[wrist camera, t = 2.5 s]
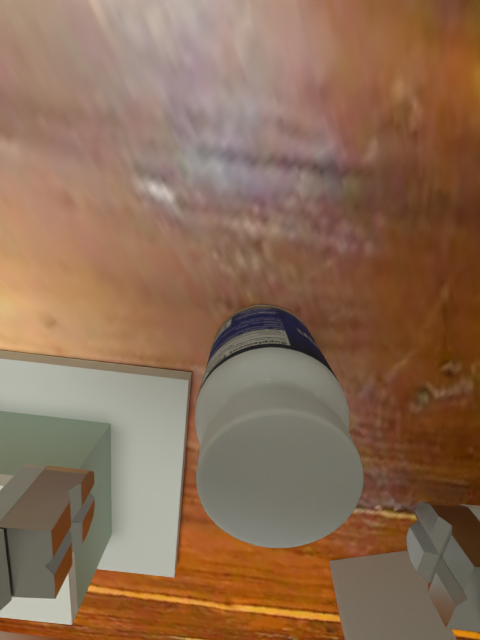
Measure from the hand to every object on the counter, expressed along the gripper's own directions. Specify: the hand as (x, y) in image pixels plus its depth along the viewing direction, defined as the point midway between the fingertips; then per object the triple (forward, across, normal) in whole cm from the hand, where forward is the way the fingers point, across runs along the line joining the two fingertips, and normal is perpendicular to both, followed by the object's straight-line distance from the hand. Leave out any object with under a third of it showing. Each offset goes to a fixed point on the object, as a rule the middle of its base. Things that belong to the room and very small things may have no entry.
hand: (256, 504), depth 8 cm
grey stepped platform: (+11, +12, +10) cm, 19 cm away
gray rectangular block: (+11, -12, +18) cm, 24 cm away
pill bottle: (+11, -1, 0) cm, 11 cm away
